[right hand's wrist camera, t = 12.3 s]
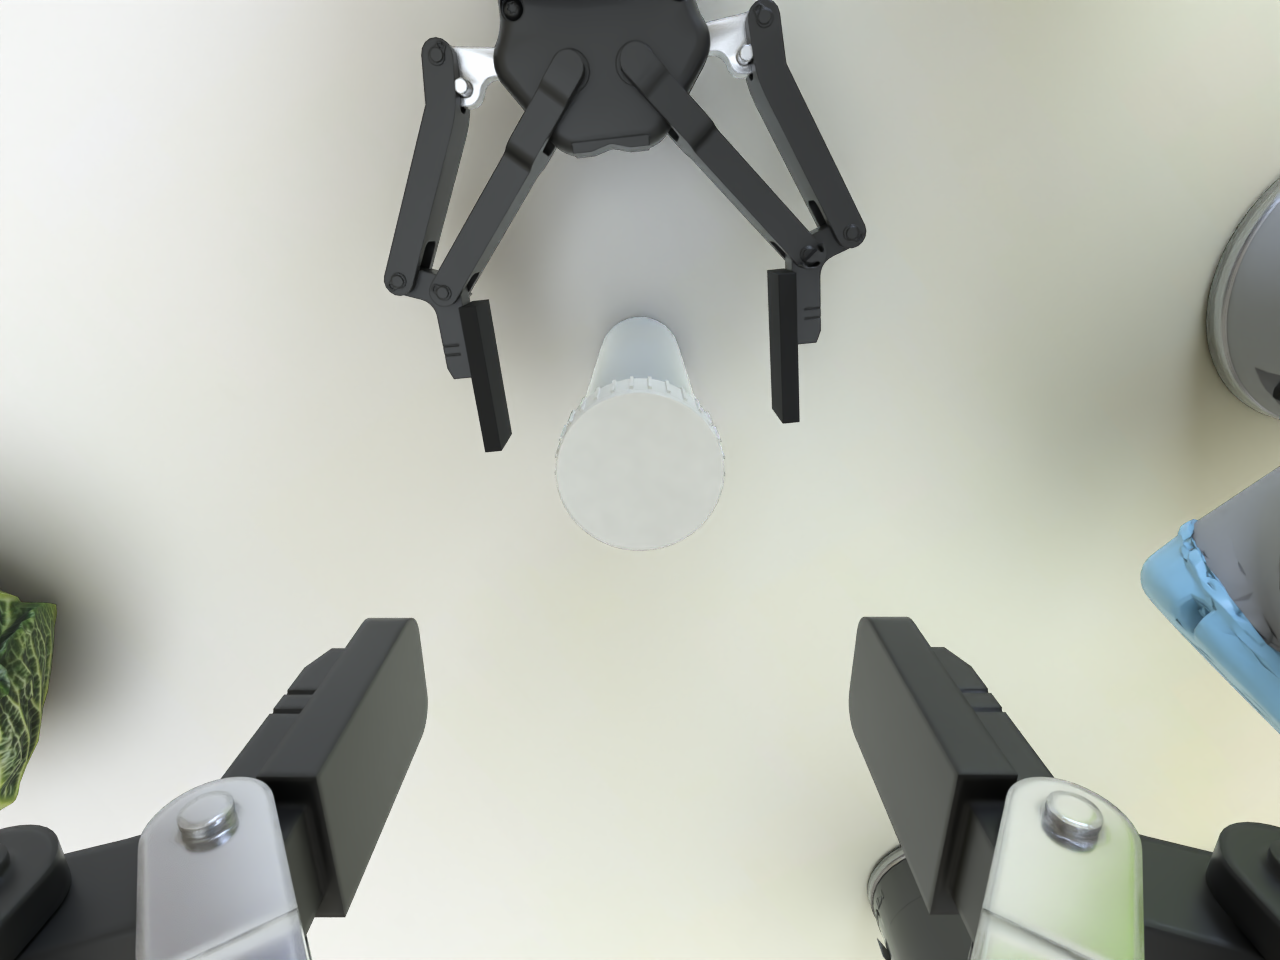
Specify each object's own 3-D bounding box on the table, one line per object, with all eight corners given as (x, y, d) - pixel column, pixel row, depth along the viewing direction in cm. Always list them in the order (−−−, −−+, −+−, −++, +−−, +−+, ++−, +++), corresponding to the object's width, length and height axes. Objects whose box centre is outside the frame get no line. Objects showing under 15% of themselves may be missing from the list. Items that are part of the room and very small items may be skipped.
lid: (697, 541, 23) (702, 568, 21) (546, 509, 23) (539, 534, 21) (738, 395, 21) (747, 411, 20) (576, 358, 21) (570, 371, 19)
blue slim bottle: (669, 404, 39) (692, 549, 22) (592, 386, 39) (554, 520, 21) (688, 326, 38) (730, 416, 20) (609, 308, 37) (582, 383, 20)
